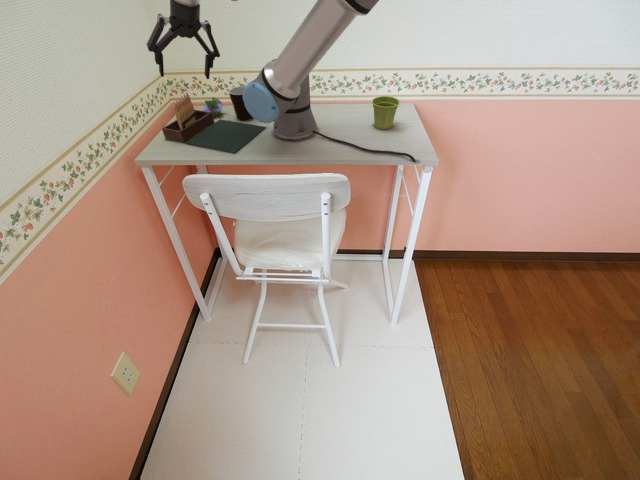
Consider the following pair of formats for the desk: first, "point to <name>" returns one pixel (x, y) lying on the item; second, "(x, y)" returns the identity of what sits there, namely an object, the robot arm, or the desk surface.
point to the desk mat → (226, 136)
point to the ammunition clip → (185, 112)
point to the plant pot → (384, 111)
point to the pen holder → (187, 133)
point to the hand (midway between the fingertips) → (185, 75)
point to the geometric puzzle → (213, 106)
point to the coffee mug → (239, 103)
